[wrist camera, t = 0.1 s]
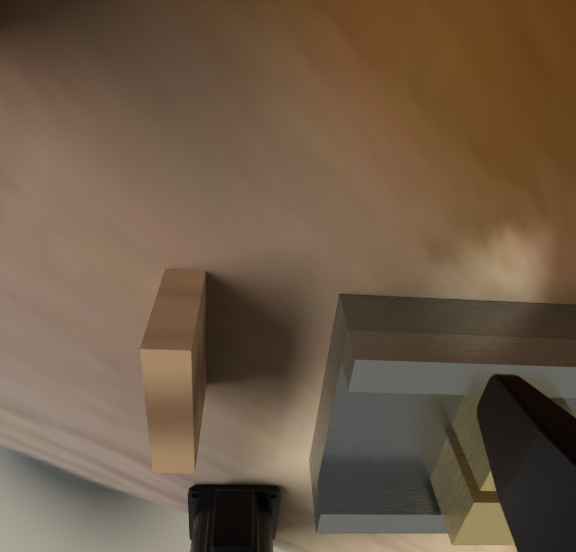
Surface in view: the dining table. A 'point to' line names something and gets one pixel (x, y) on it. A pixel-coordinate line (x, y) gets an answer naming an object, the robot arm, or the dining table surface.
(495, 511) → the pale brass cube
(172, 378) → the wooden block
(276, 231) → the dining table surface
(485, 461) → the yellow cube
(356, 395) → the slot block
